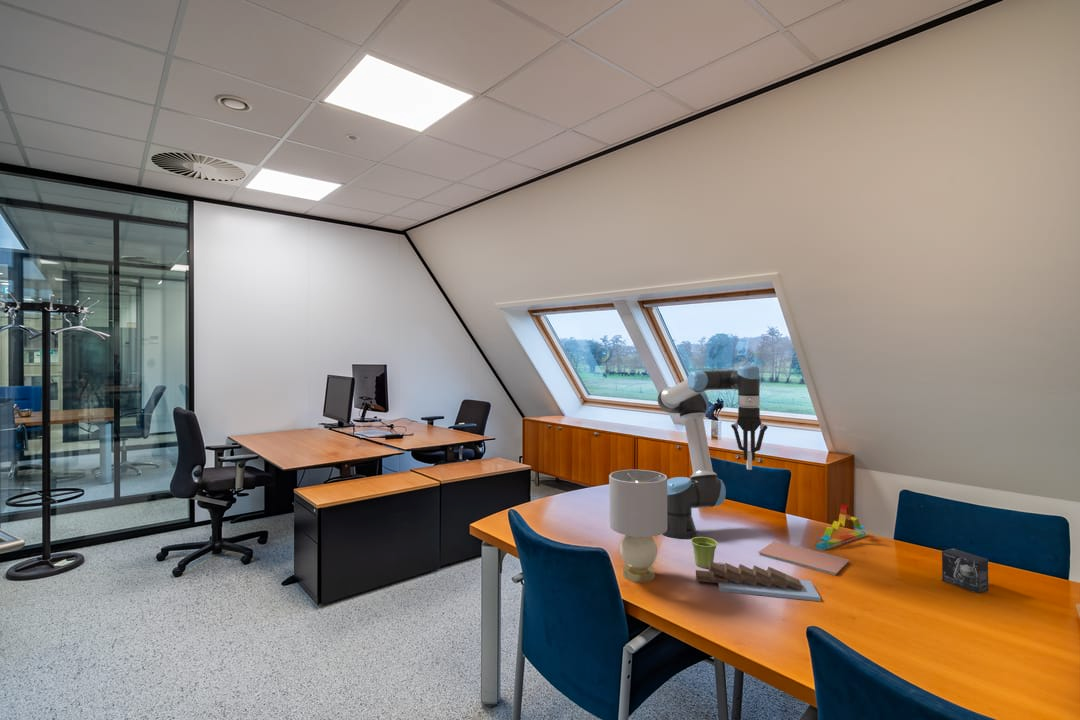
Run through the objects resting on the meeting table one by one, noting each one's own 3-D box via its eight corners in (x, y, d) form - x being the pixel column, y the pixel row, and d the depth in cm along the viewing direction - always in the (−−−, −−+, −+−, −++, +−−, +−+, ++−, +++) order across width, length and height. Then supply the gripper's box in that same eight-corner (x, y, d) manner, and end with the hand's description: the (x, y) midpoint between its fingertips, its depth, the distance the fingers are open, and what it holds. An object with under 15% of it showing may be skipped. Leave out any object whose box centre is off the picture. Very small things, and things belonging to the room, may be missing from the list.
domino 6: (800, 590, 164) (769, 577, 166) (797, 584, 169) (766, 570, 171) (802, 586, 164) (771, 572, 166) (799, 579, 169) (768, 566, 171)
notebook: (850, 563, 189) (850, 558, 189) (836, 577, 177) (836, 572, 177) (775, 544, 209) (774, 539, 209) (758, 556, 197) (758, 551, 197)
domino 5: (785, 589, 165) (754, 575, 167) (782, 582, 170) (752, 569, 172) (787, 584, 165) (756, 571, 167) (784, 578, 170) (754, 565, 172)
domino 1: (727, 583, 170) (696, 580, 172) (726, 577, 174) (695, 574, 177) (727, 579, 170) (696, 576, 172) (726, 572, 174) (695, 569, 177)
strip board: (719, 591, 167) (719, 587, 167) (716, 575, 179) (716, 572, 178) (820, 601, 159) (820, 597, 159) (810, 584, 171) (810, 581, 171)
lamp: (631, 559, 194) (631, 467, 193) (679, 575, 179) (678, 475, 179) (598, 575, 179) (597, 476, 179) (646, 594, 165) (646, 486, 165)
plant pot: (717, 561, 191) (717, 538, 191) (717, 571, 182) (717, 547, 182) (691, 558, 194) (691, 535, 194) (690, 568, 185) (690, 544, 185)
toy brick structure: (823, 551, 200) (823, 513, 200) (815, 548, 203) (815, 511, 203) (866, 537, 215) (865, 501, 215) (858, 534, 218) (858, 500, 218)
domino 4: (770, 587, 166) (739, 574, 169) (767, 581, 171) (737, 568, 173) (772, 583, 166) (741, 569, 168) (769, 577, 171) (739, 563, 173)
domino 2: (738, 584, 169) (709, 570, 171) (736, 577, 174) (708, 564, 176) (740, 579, 169) (711, 566, 171) (738, 573, 173) (709, 560, 176)
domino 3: (755, 586, 167) (725, 572, 170) (753, 579, 172) (724, 566, 175) (757, 582, 167) (727, 568, 170) (755, 575, 172) (725, 562, 174)
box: (941, 581, 173) (940, 550, 173) (952, 577, 176) (952, 547, 175) (978, 594, 163) (978, 562, 163) (989, 590, 166) (989, 558, 166)
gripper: (731, 407, 190) (732, 470, 190) (769, 407, 187) (769, 471, 187) (729, 405, 197) (729, 466, 198) (765, 405, 194) (766, 467, 194)
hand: (749, 468), depth 192 cm, fingers closed
